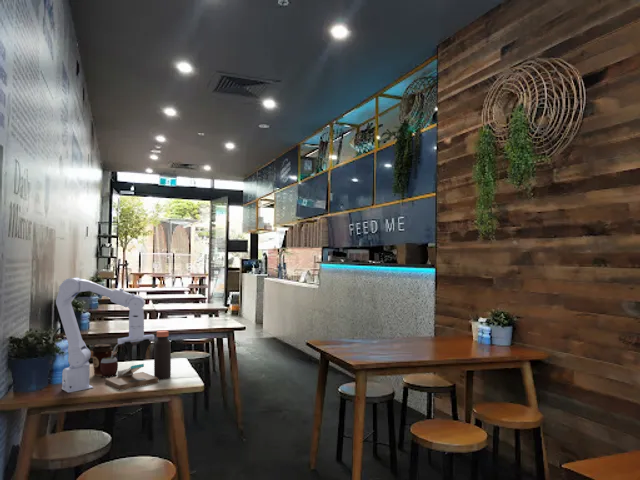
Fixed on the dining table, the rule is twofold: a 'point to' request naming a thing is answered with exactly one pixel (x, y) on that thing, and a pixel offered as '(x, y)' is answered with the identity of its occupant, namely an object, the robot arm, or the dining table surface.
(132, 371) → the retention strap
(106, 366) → the mate gourd
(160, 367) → the bottle
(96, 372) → the dark brown jar
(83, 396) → the dining table surface
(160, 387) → the dining table surface
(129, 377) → the base plate
